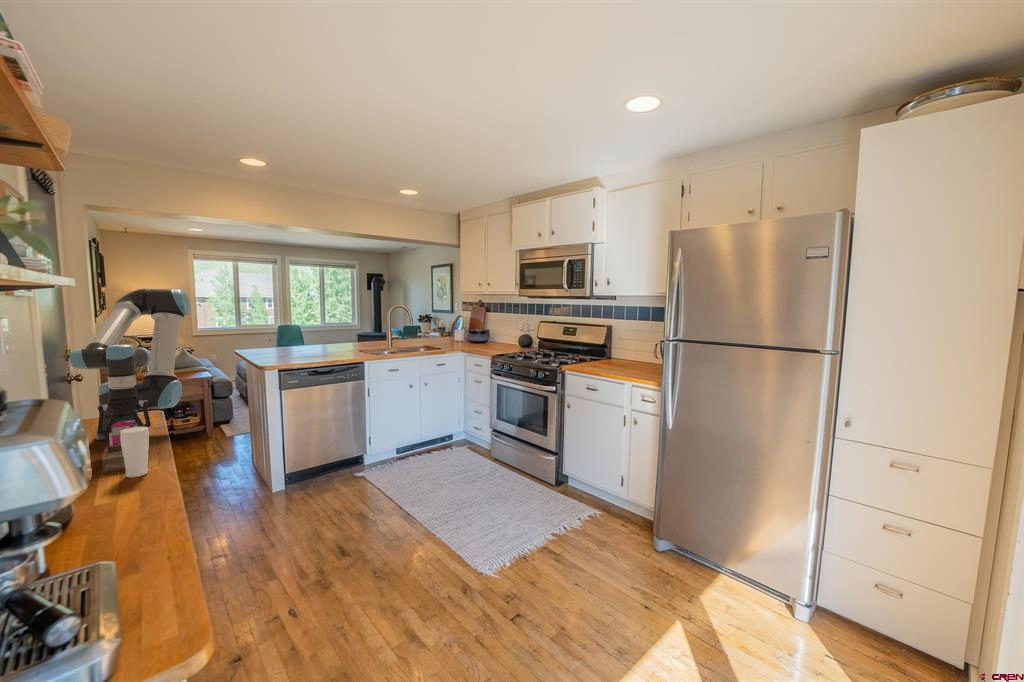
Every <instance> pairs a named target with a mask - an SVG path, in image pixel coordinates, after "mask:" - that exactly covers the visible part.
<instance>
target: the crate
mask: <svg viewBox="0 0 1024 682" xmlns="http://www.w3.org/2000/svg"><path fill="white" fill-rule="evenodd" d="M101 458H102V459H101V461H102V463H101V464H102V475H107V474H106V473H108V474H112V473H111V472H114V473H119V472H125V471H126V470H125V464H124V459H123V453H122V448H121V445H114V446H110V445H108V446H107V445H106V446H105V447H104V449H103V454H102V457H101ZM124 470H125V471H124ZM118 471H119V472H118Z"/></svg>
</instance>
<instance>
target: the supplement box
mask: <svg viewBox="0 0 1024 682" xmlns="http://www.w3.org/2000/svg"><path fill="white" fill-rule="evenodd" d="M133 427H138V426H137V422H136V421H135V420H133V421H121V422H117V423H115V424H113V425H112V426H111V431H112V442H113V446H114V445H121V440H120V431H122V430H124V429H127V428H133Z"/></svg>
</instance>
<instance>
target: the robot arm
mask: <svg viewBox="0 0 1024 682" xmlns="http://www.w3.org/2000/svg"><path fill="white" fill-rule="evenodd" d="M111 308H112V309H111V311H112V312H111V314H110V315H109V316H108V317H107V318H106V320H105V321H104V322H103V324H102V326H101V327H100V328H99V329H98V331H97V332H96V334H94V336H93V337H92V339H91V340H90V342H89V343H88V344H87V345H86V346H85V348H78V349H77V348H76V349H73V350H72V351H71V353H70V354H69V363H70V365H71V367H72V368H74V369H76V370H100V369H102V370H103V369H105V370H107V372H106V373H107V381H106V382H104V383H102V384H100V385H99V386H98V395H97V396H98V401H99V402H98V404H99V405H98V407H97V410H98V412H99V414H98V426H97V429H96V431H95V440H97V441H104V442H105V444H108V443H109V446H113V442H112V431H111V426H112V425H113V424H115V423H117V422H121V421H133V420H135V421H136V422H137V426H138V427H148V428H150V427H151V426H152V423H151V419H150V414H149V410H156V409H161V410H163V409H168V408H173V407H175V406H177V404H178V403H179V402H180V401H181V397H182V394H183V384H182V381H180V380H178V376H177V375H176V374H175V366H176V365H175V364H176V356H177V345H178V336H179V327H180V323H182V322H183V321H184V319H185V316H188V315H190V313H191V302H190V298H189V296H188V294H187V292H186V291H184V290H183V289H175V288H170V289H169V288H140V289H139V288H138V289H137V290H133V291H130V292H128V293H126V294H124V295H123V296H122V297H120V298H119V299H117V300H116V302H115V303H114V304H113V306H112V307H111ZM148 315H149V316H150V318H152V320H154V324H153V330H152V331H153V333H152V342H151V348H150V350H148V349H147V348H145V347H140V346H138V347H137V346H136V347H134V346H133V345H131V344H120V342H121V341H122V339H123V338H124V336H125V334H126V333H127V332H128V330H129V329H130V327H131V326H132V324H133V323H134V321H136V320H139V319H140V318H141V316H148ZM148 364H149V365H148ZM146 365H148V371H147V373H146V374H144V375H143V376H142V381H138V380H137V379H136V369H137V368H141V367H144V366H146ZM140 410H142V411H143V416H144V421H145V424H144V423H143V422H142V419H141V417H140V416H139V411H140Z"/></svg>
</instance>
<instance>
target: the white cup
mask: <svg viewBox="0 0 1024 682" xmlns="http://www.w3.org/2000/svg"><path fill="white" fill-rule="evenodd" d="M120 440H121V448H122V453H123V459H124V464H125V476H126V477H127V478H129V479H130V478H138V477H143V476H145V475H146V474H148V472H149V468H148V467H149V447H150V435H149V427H133V428H127V429H124V430H122V431H120Z"/></svg>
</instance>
